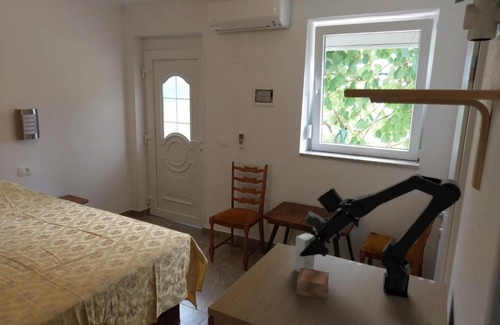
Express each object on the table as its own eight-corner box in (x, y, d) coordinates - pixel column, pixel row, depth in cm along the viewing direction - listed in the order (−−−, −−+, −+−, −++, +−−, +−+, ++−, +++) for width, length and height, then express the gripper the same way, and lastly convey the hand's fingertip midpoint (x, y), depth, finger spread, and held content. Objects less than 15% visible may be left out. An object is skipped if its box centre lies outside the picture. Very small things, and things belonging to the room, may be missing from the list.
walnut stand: (328, 283, 106) (329, 271, 106) (326, 299, 98) (327, 286, 97) (299, 279, 109) (300, 267, 108) (296, 294, 100) (297, 281, 99)
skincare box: (303, 274, 111) (305, 240, 109) (293, 269, 115) (295, 236, 112) (314, 268, 116) (316, 236, 113) (303, 264, 119) (306, 232, 117)
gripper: (320, 197, 119) (287, 223, 123) (320, 214, 101) (282, 244, 105) (340, 221, 119) (307, 246, 123) (345, 242, 101) (305, 270, 105)
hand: (300, 250), depth 114 cm, fingers closed on skincare box, 7 cm apart
